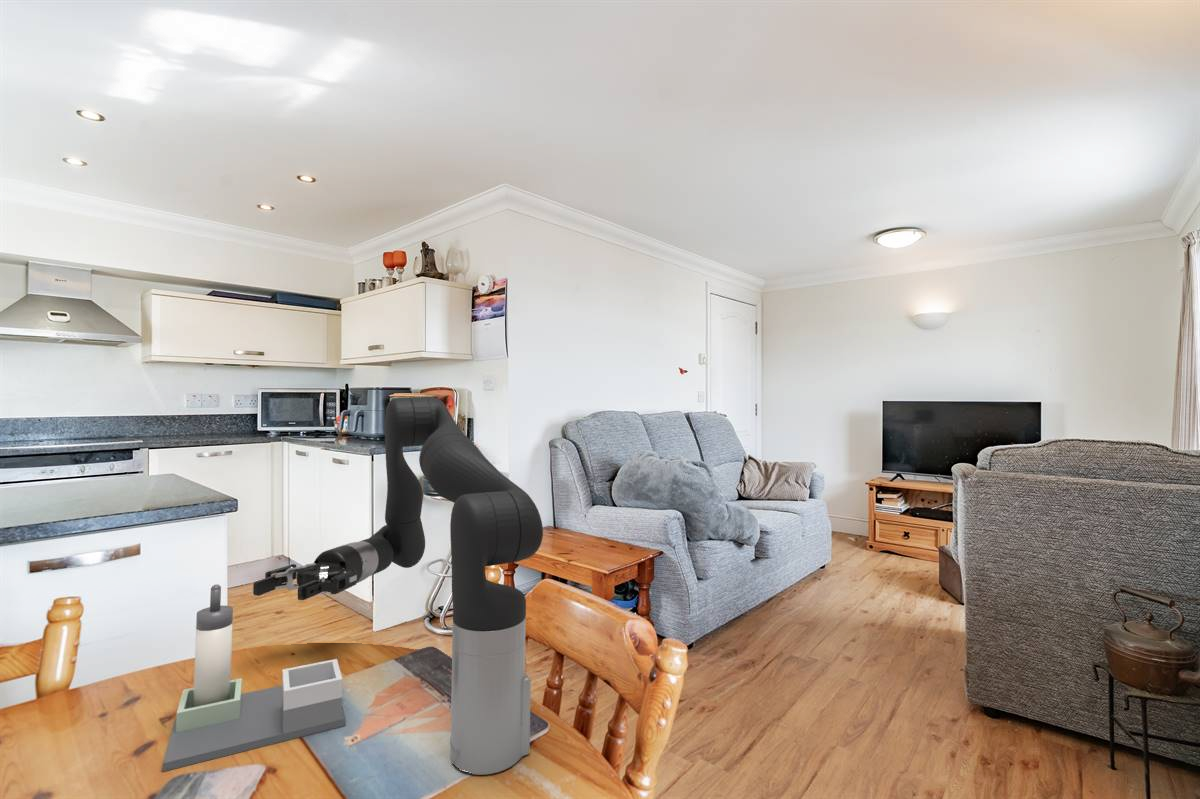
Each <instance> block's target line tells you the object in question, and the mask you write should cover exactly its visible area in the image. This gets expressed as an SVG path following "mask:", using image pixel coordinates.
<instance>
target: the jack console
mask: <svg viewBox="0 0 1200 799" xmlns="http://www.w3.org/2000/svg"><path fill="white" fill-rule="evenodd" d="M281 673H282V676H281V677H282V678H281V680H282V681H281V683H282V684H280V685H278V686H273V687H268V688H264V689H259V690H254V691H250V692H249V691H248V692H244V693H242V692H243V691H242V690H243V678H237V679H232V680H231V679H230V700H226V701H221V702H217V703H212V704H207V705H202V706H198V707H193V697H194V687H191V688H185V689H183V690H182V693H181V696H180V700H179V703H178V707H177V711H176V717H175V720H174V722H173V727H172V731H171V733H170V737H169V741H168V744H167V748H166V750H165V751H166V752H165V754H164V758H163V761H162V772H163V773H164V772H167V771H172V770H175V769H179V768H185V767H187V766H192V765H195V764H199V763H203V762H207V761H211V760H216V759H219V758H223V757H227V756H231V755H235V754H239V753H242V752H247V751H251V750H255V749H258V748H263V747H266V746H270V745H273V744H279V743H282V742H286V741H291V740H294V739H298V738H302V737H305V736H310V735H314V734H318V733H321V732H325V731H330V730H333V729H337V728H341V727H345V726H346V720H347V719H346V714H345V710H344V707H343V677H342V676H343V675H342V672H341V668H340V665H339V660H338V658H334V659H330V660H325V661H319V662H314V663H309V664H303V665H298V666H294V667H289V668H283V669H282V672H281Z"/></svg>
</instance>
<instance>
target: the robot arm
mask: <svg viewBox="0 0 1200 799" xmlns="http://www.w3.org/2000/svg"><path fill="white" fill-rule="evenodd" d="M384 444H385V445H384V446H385V447H384V448H385V468H386V482H387V490H386V491H387V492H386V501H385V513H384V521H385V523H386V524H385V525H383V526H382V527H381V528H380V529H378V530H377V531H376V532H375V533H374V534H372V536H370V537H369V538H366V539H361V540H359V541H354V542H350V543H349V542H348V543H346V544H342V545H340V546H337V547H334V548H330V549H328V550H325V551H322V552H321V553H320V554H318V555H317V557H316V558H315V560H314V562H313V563H307V564H304V565H301V566H297V564H295V563H291V564H289V565H285V566H283V567H282V566H281V567H278V568H276V569H272V570H268V571H266V572H265V574H264V576H265V577H264V578H262V579H259V580H256V581H255V582H253V586H252V587H253V588H252V594H253V596H261V595H265V594H268V593H270V592H272V591H276V590H281V589H287V590H289V591H292V590H293V591H294V590H297V600H298V601H306V600H307V599H310V598H312V597H315V596H317V595H320V596H321V595H326V594H327V593H330V595H337V594H339V593H342V592H343V591H346V590H348V589H350V588H352V587H354V586H356V585H357V584H358V583H360V582H363V581H365V580H366V579H368V578H369V577H371V576H373V575H375V574H378V573H380V572H382V571H384V570H386V569H388V568H389V567H390V565H391V564H392V563H394V564H395V565H397V566H399V567H401V568H403V569H404V568H405V569H409V568H412V567H415V566H416V565H417V564H418V563H419V562H420V561H422V560H421V559H422V558H423V556H424V554H425V550H426V537H425V531H424V527H423V523H422V519H421V518H422V517H421V516H422V510H423V509H422V508H423V501H424V490H423V487H422V484H421V482H420V479H419V478H418V477H417V475H416V474H415V473H414V471H413V470H412V469H411V467H410V466H409V464H408V463H407V461H406V459H405V455H404V450H403V449H404V447H414V446H415V447H416V446H417V447H419V446H421V450H420V452H419V458H418V462H419V468H420V469H421V472H422V474H423V476H424V478H425V480H426V481H427V482H428V484H429V485H430V487H431V488H432V489H433V491H434V492H435V493H436V494H437V495H439V496H440V497H442V498H444V499H445V500H447V501H449V502H452V503H453V506H452V509H451V514H450V525H449V526H450V528H449V530H450V535H449V536H450V554H451V555H450V556H451V597H452V598H451V599H452V634H451V635H452V636H451V639H452V641H451V644H452V645H451V647H452V649H451V693H450V694H451V695H450V696H451V697H450V706H451V707H450V739H449V746H450V754H449V755H450V756H449V757H450V761H452V762H453V763H452V762H451V763H452V765H453V764H454V765H455V766H456V767H457V768H456V767H455V766H454V765H453V766H454V767H455V768H456V769H458V768H459V769H461V770H465V771H468V772H471V773H472V774H471V775H477V776H478V775H479V776H481V775H492V774H496V773H500V772H502V771H505V770H507V769H509V768H511V767H513V766H514V765H515V764H517V763H518V762H519V760H520V759H522V758H523V757H524V756H527V755H529V754H530V752H531V751H530V744H531V740H530V739H531V699H532V698H531V695H532V694H531V693H532V692H531V691H532V690H531V688H532V686H531V685H532V684H531V683H532V682H531V681H532V680H531V678H530V677H529V675H527V672H526V621H527V617H526V616H527V599H526V596H525V594H524V593H523V592H522V591H521V590H519V589H518V588H516V587H514V586H510V585H507V584H501V583H498V582H493V581H490V580H489V579H487V575H486V567H492V566H499V565H503V564H504V565H505V564H510V563H511V564H512V563H518V562H521V561H525V560H527V559H529V558H531V557H532V556H534V555H535V554H536V553H537V552H538V551H539V550H540V549H539V548H541V547H540V546H541V545H542V542H543V536H544V528H543V527H544V526H543V522H542V518H541V514H540V512H539V509H538V507H537V505H536V503H535V502H534V501H533V499H532V497H530V494H528V493H527V492H526V491H525V490H524V489H522V488H521V487H520V486H518V485H517V484H516V483H515V482H513V481H512V480H511V479H509V478H508V477H506V476H505V475H504V474H503V473H502V472H500V471H499V469H497V467H496V466H494V465H493V464H492V463H491V462H490V461H489V460H488V459H487V457H486V456H485V455H484V454H483V453H482V451H481V450H480V449H479V448H478V447H477V445H476V444H475V443H474V442H473V441H472V439H470V438H469V437H468V436H467V435H466V434H465V433H464V432H463V431H462V429H461V428H460V426H459V425H458V424H457V422H456V421H455V420H454V418H453V415H452V414H451V412H450V411H449V409H448V407H447V405H446V404H445V403H444V402H443V400H441V399H440V398H438V397H432V396H416V397H415V396H414V397H413V396H411V397H410V396H409V397H407V396H406V397H396V398H395V397H394V398H392V399H391V400H389V402H388V403H387V405H386V409H385V414H384ZM293 580H296V583H295V584H293ZM459 769H458V770H459ZM461 770H460V771H461Z"/></svg>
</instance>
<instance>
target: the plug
mask: <svg viewBox="0 0 1200 799" xmlns="http://www.w3.org/2000/svg"><path fill="white" fill-rule="evenodd" d="M221 597H222V587H221V585H220V584H214V585H212V586H211V587H210V600H209V603H210V604H209V607H205V608H202V609H200V610H198V611H197V612H196V619H195V620H196V621H195V622H196V623H195V624H196V625H195V649H194V675H193V678H194V679H193V688H194V697H193V707H198V706H202V705H207V704H212V703H217V702H221V701H226V700H230V680H231V674H232V673H231V672H232V651H233V650H232V647H233V645H232V644H233V622H234V621H233V619H234V618H233V617H234V616H233V615H234V606H231V605H222V604H221V603H222V602H221V599H222V598H221Z"/></svg>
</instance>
